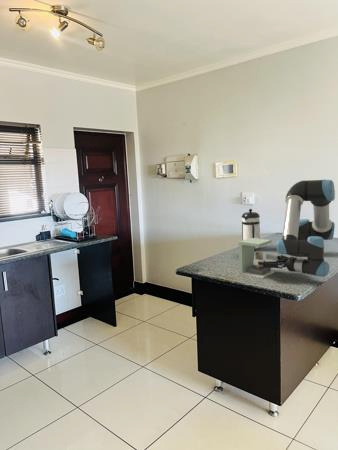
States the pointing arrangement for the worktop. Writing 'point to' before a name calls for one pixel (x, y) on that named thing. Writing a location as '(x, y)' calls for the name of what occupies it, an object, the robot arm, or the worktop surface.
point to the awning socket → (251, 258)
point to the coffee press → (250, 226)
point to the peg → (259, 257)
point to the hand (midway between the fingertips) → (260, 259)
